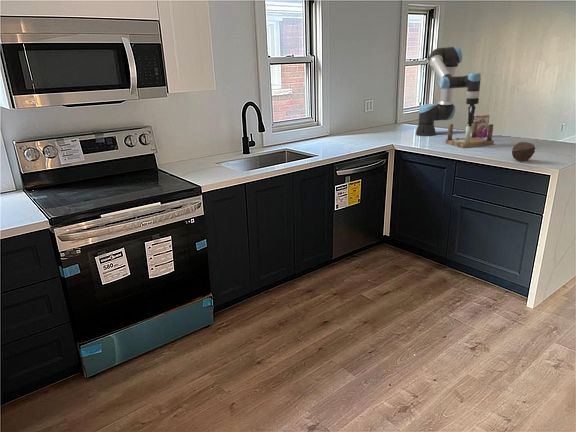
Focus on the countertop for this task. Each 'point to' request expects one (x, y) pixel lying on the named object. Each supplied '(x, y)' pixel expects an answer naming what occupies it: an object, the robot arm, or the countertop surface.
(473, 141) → the wooden peg board
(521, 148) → the rock
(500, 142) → the countertop surface
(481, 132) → the candy bar box
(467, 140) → the crank handle
